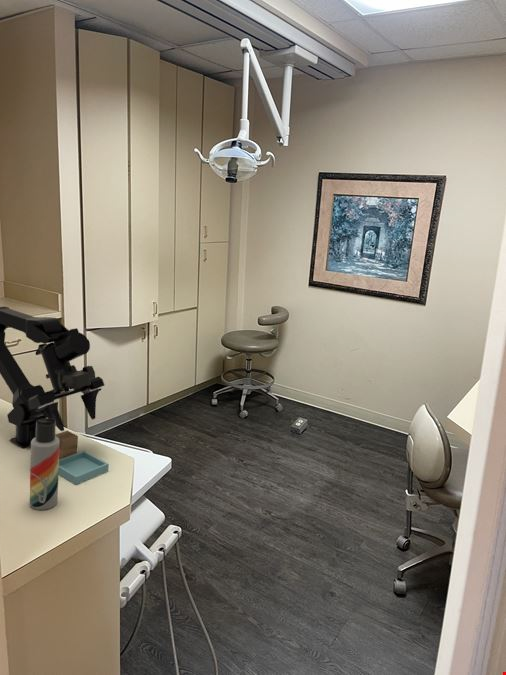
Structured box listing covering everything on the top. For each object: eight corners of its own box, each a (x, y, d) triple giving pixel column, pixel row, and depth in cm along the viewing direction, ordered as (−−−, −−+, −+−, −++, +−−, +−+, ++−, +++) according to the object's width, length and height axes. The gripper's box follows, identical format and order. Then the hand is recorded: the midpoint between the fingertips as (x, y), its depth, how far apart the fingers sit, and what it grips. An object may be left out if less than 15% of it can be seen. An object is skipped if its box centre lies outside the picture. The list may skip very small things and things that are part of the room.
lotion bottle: (29, 512, 107) (31, 425, 102) (29, 497, 112) (31, 414, 107) (58, 508, 109) (61, 423, 104) (56, 494, 114) (59, 413, 109)
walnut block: (51, 456, 130) (52, 435, 129) (66, 451, 134) (67, 430, 133) (62, 462, 128) (62, 441, 127) (77, 457, 132) (78, 436, 130)
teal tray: (51, 469, 124) (51, 462, 123) (84, 457, 132) (84, 450, 131) (75, 484, 119) (75, 477, 118) (108, 470, 127) (108, 463, 126)
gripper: (41, 366, 114) (63, 431, 113) (106, 350, 129) (126, 407, 128) (17, 378, 120) (38, 439, 120) (82, 361, 135) (101, 416, 135)
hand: (78, 424), depth 125 cm, fingers open, 9 cm apart
